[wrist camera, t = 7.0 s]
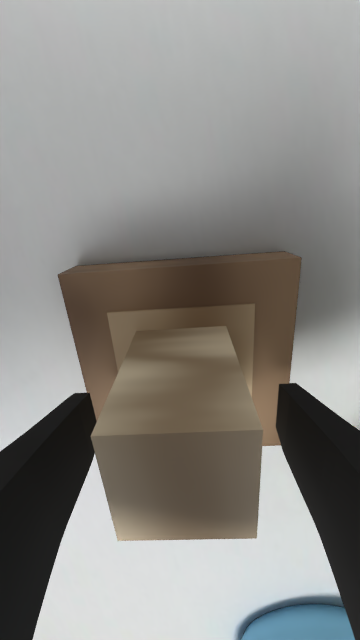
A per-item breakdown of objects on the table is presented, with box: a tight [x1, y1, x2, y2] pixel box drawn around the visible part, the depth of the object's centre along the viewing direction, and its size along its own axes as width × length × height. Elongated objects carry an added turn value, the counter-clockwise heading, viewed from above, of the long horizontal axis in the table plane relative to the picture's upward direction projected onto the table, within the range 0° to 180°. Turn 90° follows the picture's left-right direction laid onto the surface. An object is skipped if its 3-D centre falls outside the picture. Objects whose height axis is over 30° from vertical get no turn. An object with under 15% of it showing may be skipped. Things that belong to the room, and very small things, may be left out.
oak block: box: [91, 326, 263, 541], centre depth 10 cm, size 4×4×6 cm
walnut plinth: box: [58, 251, 301, 446], centre depth 13 cm, size 10×10×2 cm
